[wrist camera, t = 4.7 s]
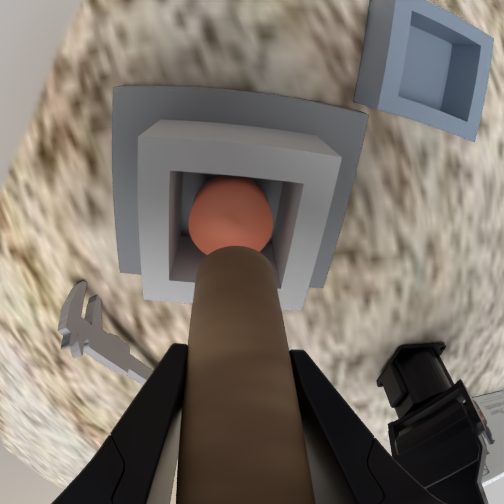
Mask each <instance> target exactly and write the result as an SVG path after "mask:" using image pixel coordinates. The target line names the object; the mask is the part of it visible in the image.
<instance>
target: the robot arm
mask: <svg viewBox="0 0 504 504" xmlns="http://www.w3.org/2000/svg"><path fill="white" fill-rule="evenodd" d="M445 347H446V345H445V344H444V343H432V344H419V345H403V346H400V347H399V348H398V349H397V351H396V352H395V354H394V356H393V357H392V359H391V361H390V362H389V364H388V365H387V367H386V368H385V370H384V372H383V373H382V375H381V376H380V378H379V379H378V381H377V386H378V387H383V386H384V389H385V392H386V395H387V397H388V400H389V403H390V405H391V407H392V408H395V410H396V413H397V416H398V418H399V419H398V420H396V421H394V422H393V421H392V422H390V423H389V424H388V429H389V431H388V433H389V439H390V445H391V452H392V456H391V455H390V454H389V453H388V452H387V451H386V450H385V448H384V447H383V446H382V445H381V444H380V442H379V441H378V440H377V439H376V438H374V435H373V434H372V433H371V432H370V431H369V429H368V428H367V427H366V426H365V424H364V423H363V422H362V421H361V420H360V418H359V417H358V416H357V415H356V414H355V412H354V411H353V410H352V409H351V407H350V406H349V405H348V404H347V402H346V401H345V400H344V399H343V397H342V396H341V395H340V394H339V393H338V391H337V390H336V389H335V388H334V386H333V385H332V384H331V383H330V381H329V380H328V379H327V378H326V376H325V375H324V374H323V373H322V371H321V370H320V369H319V368H318V366H317V365H316V364H315V363H314V361H313V360H312V359H311V358H310V356H309V355H308V354H307V353H306V352H305V351H304V350H290V351H289V353H290V359H291V364H292V370H293V375H294V381H295V386H296V392H297V398H298V403H299V409H300V415H301V420H302V426H303V432H304V438H305V443H306V449H307V455H308V461H309V467H310V473H311V479H312V485H313V491H314V498H315V504H488V501H487V498H486V495H485V492H484V489H483V486H482V483H481V480H482V476H483V471H484V466H485V461H486V456H487V449H486V446H485V444H484V442H483V439H482V437H481V434H482V433H483V432H485V431H486V428H485V426H484V424H483V421H482V419H481V416H480V414H479V412H478V410H477V407H476V405H475V403H474V401H473V399H472V397H471V395H470V393H469V391H468V390H467V388H466V386H465V385H464V383H463V382H462V380H461V379H460V380H459V381H457V383H456V384H454V383H453V381H452V379H451V377H450V375H449V373H448V371H447V369H446V367H445V365H444V363H443V362H442V360H441V358H440V355H441V354H442V352H443V351H444V349H445ZM187 352H188V346H187V345H186V344H179V343H174V344H172V345H171V346H170V348H169V349H168V351H167V352H166V354H165V355H164V356H163V358H162V359H161V361H160V362H159V364H158V365H157V366H156V368H155V369H154V371H153V372H152V374H151V375H150V376H149V378H148V379H147V381H146V382H145V384H144V385H143V387H142V388H141V389H140V391H139V392H138V394H137V395H136V397H135V398H134V400H133V401H132V402H131V404H130V405H129V407H128V408H127V410H126V411H125V413H124V414H123V416H122V417H121V418H120V420H119V421H118V423H117V424H116V426H115V427H114V429H113V430H112V432H111V433H110V434H111V435H109V436H108V437H107V439H106V440H105V442H104V443H103V444H102V446H101V447H100V449H99V450H98V451H97V453H96V454H95V455H94V457H93V458H92V459H91V461H90V462H89V463H88V464H87V465H86V466H85V468H84V469H83V470H82V471H81V472H80V473H79V475H78V476H77V477H76V478H75V479H74V480H73V481H72V482H71V483H70V484H69V485H68V486H67V488H66V489H65V490H64V491H63V492H62V493H61V494H60V495H59V496H58V497H57V498H56V499H55V500H54V501H53V502H52V504H170V500H171V494H172V488H173V482H174V476H175V470H176V464H177V459H178V453H179V438H180V424H181V411H182V399H183V392H184V382H185V372H186V362H187ZM464 400H465V401H466V402H464V403H463V401H464Z"/></svg>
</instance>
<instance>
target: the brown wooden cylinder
mask: <svg viewBox="0 0 504 504" xmlns="http://www.w3.org/2000/svg"><path fill="white" fill-rule="evenodd" d="M176 492H177V493H176V504H315V498H314V491H313V485H312V479H311V473H310V467H309V461H308V455H307V449H306V443H305V438H304V432H303V426H302V420H301V415H300V409H299V403H298V398H297V392H296V386H295V381H294V375H293V370H292V364H291V359H290V353H289V348H288V343H287V337H286V332H285V327H284V321H283V316H282V311H281V306H280V300H279V295H278V290H277V285H276V280H275V274H274V270H273V267H272V265H271V263H270V261H269V260H268V259H267V258H266V257H265V256H264V255H263V254H261V253H260V252H258V251H256V250H254V249H252V248H249V247H244V246H227V247H223V248H220V249H217V250H215V251H213V252H211V253H210V254H208V255H207V256H206V257H205V258H204V259H203V260H202V262H201V263H200V265H199V267H198V269H197V273H196V280H195V288H194V296H193V304H192V312H191V320H190V329H189V338H188V352H187V362H186V372H185V382H184V392H183V399H182V411H181V424H180V438H179V453H178V470H177V491H176Z"/></svg>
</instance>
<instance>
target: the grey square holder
mask: <svg viewBox="0 0 504 504" xmlns="http://www.w3.org/2000/svg"><path fill="white" fill-rule="evenodd" d="M368 118H369V115H368V114H366V113H363V112H361V111H357V110H353V109H349V108H344V107H340V106H335V105H331V104H326V103H321V102H315V101H310V100H305V99H299V98H293V97H287V96H280V95H273V94H266V93H259V92H250V91H241V90H232V89H221V88H208V87H192V86H166V85H124V86H117V87H114V89H113V112H112V175H113V199H114V215H115V228H116V240H117V250H118V260H119V269H120V273H130V274H140V275H142V286H143V296H144V299H146V300H155V301H166V302H177V303H188V304H193V296H194V288H195V280H196V273H197V269H198V267H199V265H200V263H201V262H202V260H203V259H204V258H205V257H206V256H207V255H206V254H205V253H203V252H202V251H201V250H200V249H199V248H198V247H197V246H196V245H195V243H194V242H193V240H192V238H191V236H190V233H189V225H188V222H189V216H190V212H191V208H192V204H193V201H194V197H195V195H196V193H197V192H198V190H199V189H200V187H201V186H202V185H203V184H204V183H205V182H207V181H208V180H210V179H212V178H214V177H216V176H219V175H232V176H243V177H248V178H250V179H252V180H254V181H255V182H256V183H258V184H259V185H260V186H261V187H262V189H263V190H264V192H265V194H266V196H267V198H268V202H269V205H270V209H271V213H272V218H273V230H272V234H271V237H270V239H269V241H268V243H267V244H266V245H265V247H264V248H263V249H262V250H261V251H260V253H261V254H263V255H264V256H265V257H266V258H267V259H268V260H269V261H270V263H271V265H272V267H273V270H274V274H275V280H276V285H277V290H278V295H279V300H280V306H281V310H299V311H302V308H303V304H304V301H305V298H306V294H307V291H308V287H313V288H323V287H324V284H325V281H326V277H327V274H328V271H329V268H330V264H331V261H332V258H333V254H334V251H335V248H336V244H337V241H338V237H339V234H340V230H341V227H342V223H343V220H344V216H345V212H346V209H347V205H348V201H349V198H350V194H351V190H352V186H353V182H354V178H355V174H356V170H357V166H358V162H359V158H360V153H361V149H362V145H363V140H364V136H365V131H366V127H367V122H368Z"/></svg>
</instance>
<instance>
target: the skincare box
mask: <svg viewBox="0 0 504 504" xmlns="http://www.w3.org/2000/svg"><path fill="white" fill-rule="evenodd" d="M472 399H473V401H474V403H475V405H476V407H477V410H478V412H479V414H480V416H481V419H482V421H483V424H484V426H485V428H486V431H485V432H483V433H482V434H481V437H482V439H483V442H484V444H485V446H486V449H487V456H486V461H485V466H484V471H483V476H482V480H481V483H482V486H483V487H484V486H486V485H488V484H490V483H492V482H493V481H495V480H497V479H499V478H501V477H503V476H504V392H503V391H500V392H496V393H491V394H487V395H483V396H478V397H473V398H472ZM464 402H466V401H465V400H464V401H463V403H464Z"/></svg>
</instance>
